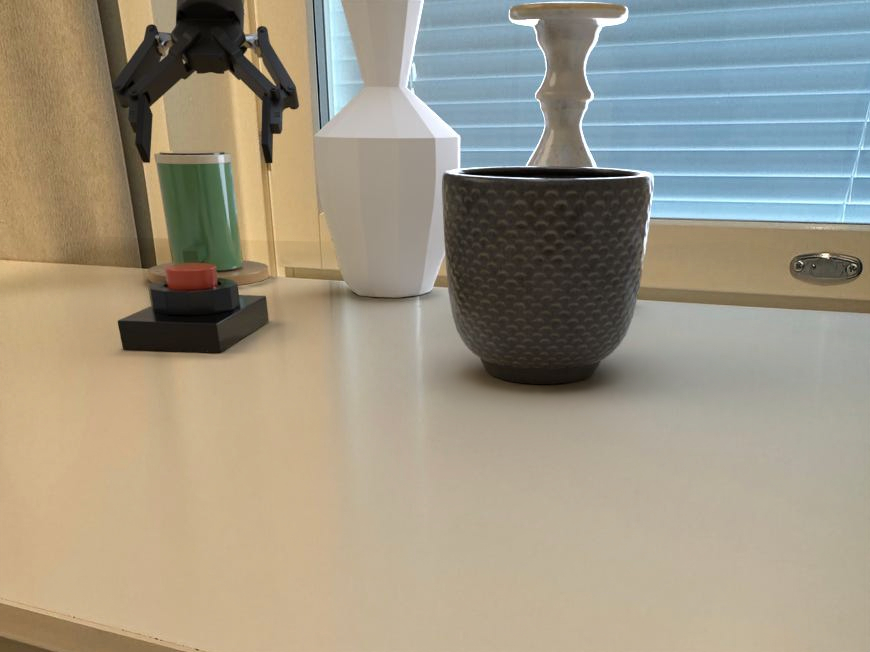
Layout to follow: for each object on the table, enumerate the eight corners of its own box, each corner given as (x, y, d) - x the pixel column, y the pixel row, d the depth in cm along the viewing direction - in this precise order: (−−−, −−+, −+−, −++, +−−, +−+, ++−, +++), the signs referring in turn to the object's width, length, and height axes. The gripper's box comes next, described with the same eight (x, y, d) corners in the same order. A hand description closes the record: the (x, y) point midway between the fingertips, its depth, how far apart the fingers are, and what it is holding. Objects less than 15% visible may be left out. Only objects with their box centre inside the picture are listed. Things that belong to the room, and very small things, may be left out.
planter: (420, 356, 68) (414, 167, 62) (582, 343, 73) (593, 164, 66) (485, 405, 57) (487, 180, 50) (672, 386, 61) (697, 176, 55)
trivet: (128, 285, 94) (126, 275, 94) (177, 267, 105) (176, 258, 105) (246, 289, 93) (245, 279, 92) (284, 269, 104) (283, 260, 104)
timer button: (160, 293, 71) (156, 269, 70) (180, 284, 74) (176, 262, 73) (208, 294, 71) (204, 271, 70) (226, 286, 74) (223, 263, 73)
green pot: (181, 260, 102) (163, 150, 96) (249, 260, 102) (235, 150, 96) (156, 277, 92) (135, 155, 86) (231, 277, 92) (215, 155, 86)
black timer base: (122, 349, 70) (111, 296, 68) (183, 318, 80) (175, 271, 78) (220, 353, 69) (212, 298, 67) (269, 321, 79) (263, 273, 77)
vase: (380, 309, 84) (365, -17, 71) (299, 289, 93) (272, -3, 80) (490, 291, 92) (493, -3, 80) (405, 275, 101) (396, 8, 89)
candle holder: (476, 301, 88) (478, 7, 76) (553, 288, 94) (565, 15, 82) (556, 318, 81) (572, -3, 69) (633, 303, 87) (659, 7, 75)
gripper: (322, 31, 108) (322, 179, 103) (113, 29, 106) (102, 178, 101) (314, -29, 100) (313, 127, 95) (89, -32, 99) (76, 125, 94)
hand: (205, 154), depth 98 cm, fingers open, 13 cm apart
